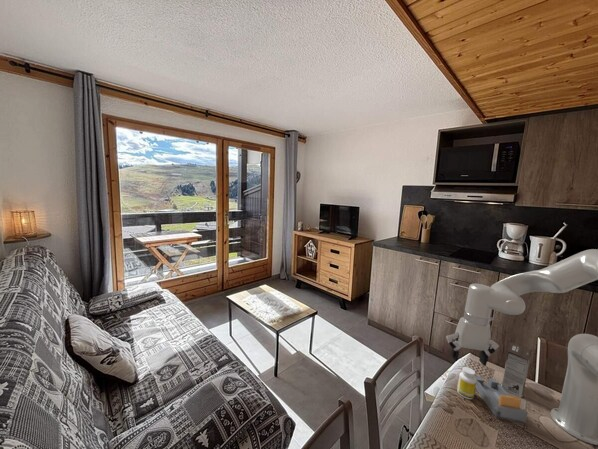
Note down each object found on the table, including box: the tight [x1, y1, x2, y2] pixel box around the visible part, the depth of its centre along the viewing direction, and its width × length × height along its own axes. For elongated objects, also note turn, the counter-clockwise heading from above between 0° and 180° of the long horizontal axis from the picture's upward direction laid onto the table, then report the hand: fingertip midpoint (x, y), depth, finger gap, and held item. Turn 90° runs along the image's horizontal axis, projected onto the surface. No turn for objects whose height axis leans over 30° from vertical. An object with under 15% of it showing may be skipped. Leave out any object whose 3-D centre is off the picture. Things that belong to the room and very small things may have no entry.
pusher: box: [493, 392, 522, 409], centre depth 88 cm, size 6×8×6 cm
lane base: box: [475, 375, 528, 424], centre depth 91 cm, size 9×16×4 cm, turn 171°
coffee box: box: [501, 342, 532, 399], centre depth 97 cm, size 9×6×16 cm
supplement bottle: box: [456, 366, 476, 400], centre depth 93 cm, size 5×5×10 cm
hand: (468, 360), depth 92 cm, fingers open, 9 cm apart
